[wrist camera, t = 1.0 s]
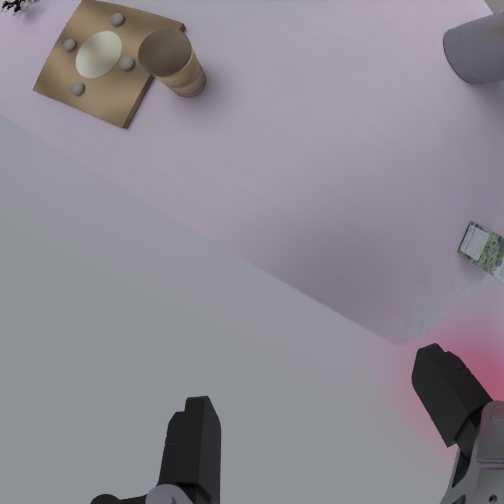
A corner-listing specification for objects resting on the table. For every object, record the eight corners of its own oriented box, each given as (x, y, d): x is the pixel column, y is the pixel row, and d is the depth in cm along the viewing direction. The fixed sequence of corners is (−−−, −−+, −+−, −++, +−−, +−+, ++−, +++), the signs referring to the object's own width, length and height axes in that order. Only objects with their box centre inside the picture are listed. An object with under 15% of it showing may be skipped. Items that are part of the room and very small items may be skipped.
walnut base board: (88, 2, 22) (80, -4, 20) (185, 28, 26) (181, 20, 23) (39, 91, 26) (28, 89, 24) (127, 128, 30) (118, 127, 27)
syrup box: (474, 262, 39) (530, 302, 25) (455, 252, 38) (516, 293, 24) (487, 231, 37) (546, 265, 23) (469, 219, 36) (534, 252, 22)
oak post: (182, 60, 27) (155, 22, 16) (212, 73, 28) (200, 38, 17) (164, 89, 28) (128, 64, 17) (194, 103, 29) (172, 82, 18)
